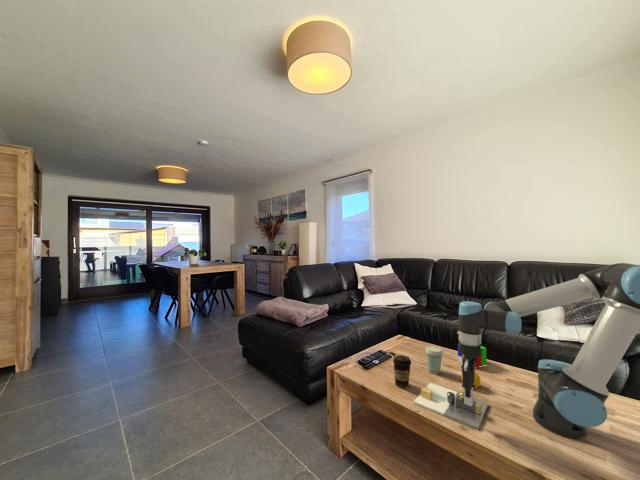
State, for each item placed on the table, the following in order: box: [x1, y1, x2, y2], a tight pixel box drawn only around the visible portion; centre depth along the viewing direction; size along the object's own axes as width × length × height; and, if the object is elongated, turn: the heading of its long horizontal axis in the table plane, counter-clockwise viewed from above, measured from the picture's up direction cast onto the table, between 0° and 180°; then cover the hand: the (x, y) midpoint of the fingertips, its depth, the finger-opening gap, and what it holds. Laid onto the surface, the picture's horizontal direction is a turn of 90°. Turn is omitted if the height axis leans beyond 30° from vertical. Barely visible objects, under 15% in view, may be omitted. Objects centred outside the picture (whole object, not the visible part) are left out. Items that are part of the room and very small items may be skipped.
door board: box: [413, 382, 458, 417], centre depth 116 cm, size 12×20×4 cm, turn 139°
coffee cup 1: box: [392, 354, 412, 389], centre depth 127 cm, size 9×8×13 cm
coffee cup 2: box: [425, 345, 444, 375], centre depth 140 cm, size 8×8×12 cm
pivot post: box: [447, 392, 455, 404], centre depth 112 cm, size 3×3×4 cm
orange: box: [461, 371, 482, 389], centre depth 126 cm, size 8×8×8 cm
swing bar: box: [456, 391, 482, 414], centre depth 107 cm, size 9×3×5 cm, turn 49°
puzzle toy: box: [457, 345, 488, 368], centre depth 150 cm, size 10×10×10 cm
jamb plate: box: [443, 391, 489, 431], centre depth 108 cm, size 12×20×1 cm, turn 139°
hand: (468, 404), depth 101 cm, fingers closed
